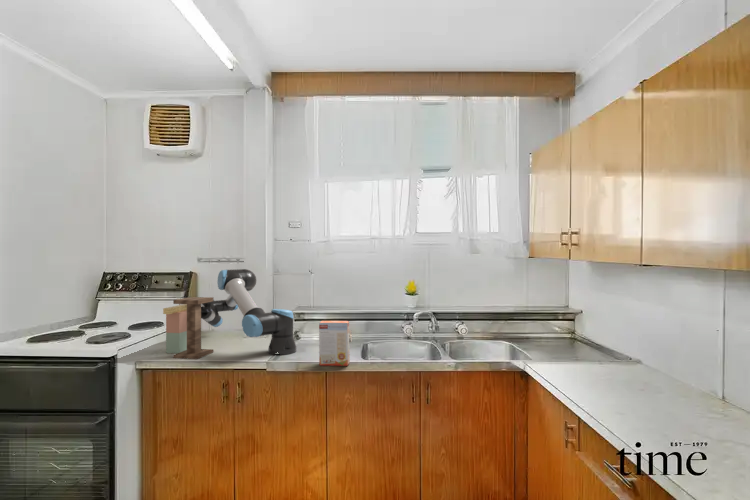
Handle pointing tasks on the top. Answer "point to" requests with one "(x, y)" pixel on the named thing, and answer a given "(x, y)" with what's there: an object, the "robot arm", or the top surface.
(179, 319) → the top block
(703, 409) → the top surface
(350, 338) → the architectural model
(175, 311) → the brass bar
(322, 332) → the cracker box
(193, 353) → the wooden stand
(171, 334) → the bottom block
